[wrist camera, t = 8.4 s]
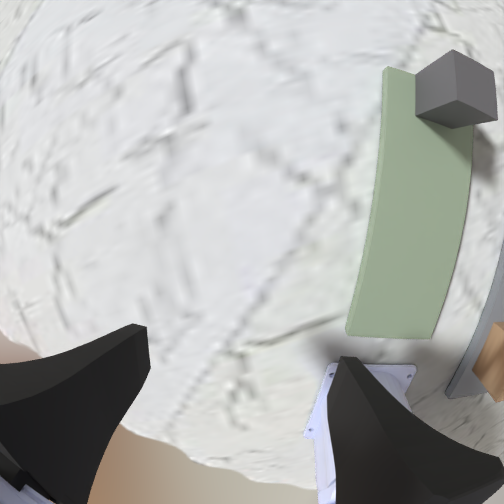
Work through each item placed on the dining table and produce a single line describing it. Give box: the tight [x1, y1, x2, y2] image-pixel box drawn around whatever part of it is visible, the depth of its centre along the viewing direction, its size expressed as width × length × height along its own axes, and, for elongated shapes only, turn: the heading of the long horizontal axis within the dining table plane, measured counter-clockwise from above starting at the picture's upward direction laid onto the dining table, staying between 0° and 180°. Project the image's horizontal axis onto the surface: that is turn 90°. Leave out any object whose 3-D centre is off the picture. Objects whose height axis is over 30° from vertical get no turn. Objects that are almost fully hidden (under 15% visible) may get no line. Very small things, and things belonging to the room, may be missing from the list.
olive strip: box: [345, 49, 498, 339], centre depth 13 cm, size 18×7×6 cm, turn 174°
